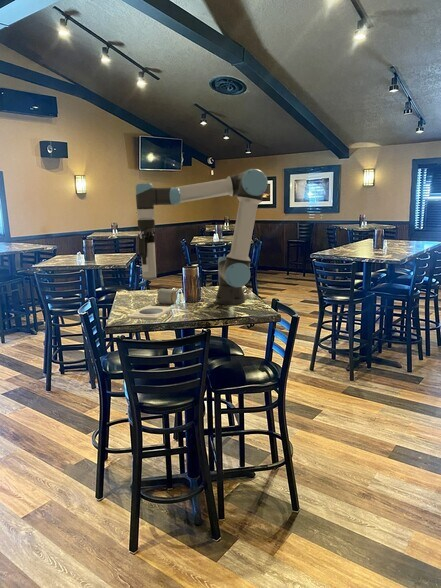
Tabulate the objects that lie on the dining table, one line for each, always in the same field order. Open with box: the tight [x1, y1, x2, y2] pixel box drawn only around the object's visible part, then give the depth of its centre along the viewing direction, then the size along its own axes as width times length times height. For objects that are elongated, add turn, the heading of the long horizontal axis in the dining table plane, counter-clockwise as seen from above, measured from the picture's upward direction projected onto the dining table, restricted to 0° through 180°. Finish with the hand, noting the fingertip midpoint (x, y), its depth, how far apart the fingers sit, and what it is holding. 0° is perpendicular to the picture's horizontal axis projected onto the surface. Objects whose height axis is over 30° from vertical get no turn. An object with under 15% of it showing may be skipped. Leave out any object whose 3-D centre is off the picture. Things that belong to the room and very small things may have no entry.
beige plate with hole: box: [127, 305, 174, 320], centre depth 203 cm, size 14×20×1 cm
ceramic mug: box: [157, 288, 178, 305], centre depth 222 cm, size 11×8×8 cm
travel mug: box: [140, 236, 157, 281], centre depth 198 cm, size 6×7×20 cm
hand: (148, 270), depth 199 cm, fingers closed on travel mug, 6 cm apart
